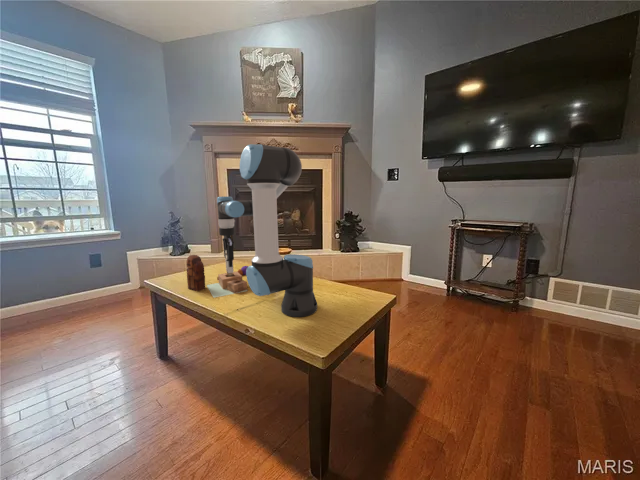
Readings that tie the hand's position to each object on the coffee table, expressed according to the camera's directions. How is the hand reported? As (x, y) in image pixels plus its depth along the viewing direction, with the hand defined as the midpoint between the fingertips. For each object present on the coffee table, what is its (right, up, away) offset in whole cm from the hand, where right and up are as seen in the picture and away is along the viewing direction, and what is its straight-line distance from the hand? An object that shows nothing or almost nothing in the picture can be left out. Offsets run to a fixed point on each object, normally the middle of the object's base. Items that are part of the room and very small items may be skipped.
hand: (229, 271), depth 135 cm
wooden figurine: (-16, -9, -3) cm, 19 cm away
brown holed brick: (+6, -8, -6) cm, 12 cm away
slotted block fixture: (0, -9, -3) cm, 9 cm away
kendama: (-2, -6, +15) cm, 16 cm away
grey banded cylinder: (0, -5, +1) cm, 5 cm away
